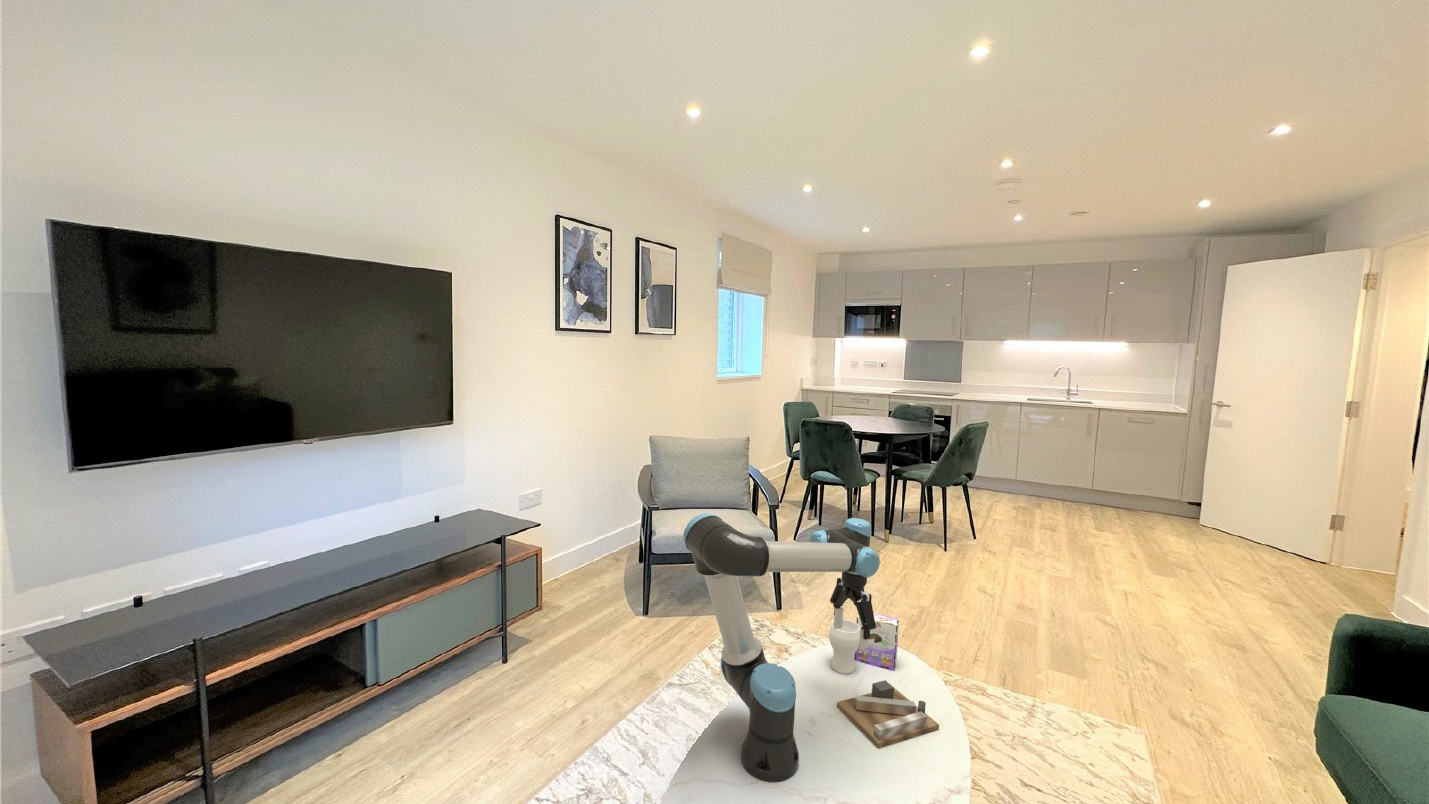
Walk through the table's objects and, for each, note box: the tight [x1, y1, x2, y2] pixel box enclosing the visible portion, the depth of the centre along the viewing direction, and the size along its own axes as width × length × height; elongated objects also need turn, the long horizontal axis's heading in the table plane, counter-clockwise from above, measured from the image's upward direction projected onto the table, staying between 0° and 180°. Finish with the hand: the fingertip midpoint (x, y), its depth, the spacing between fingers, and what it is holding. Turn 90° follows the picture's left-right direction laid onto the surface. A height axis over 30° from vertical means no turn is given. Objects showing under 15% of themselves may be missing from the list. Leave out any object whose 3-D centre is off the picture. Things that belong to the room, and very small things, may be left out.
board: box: [836, 687, 940, 750], centre depth 164 cm, size 22×19×6 cm
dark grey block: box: [871, 680, 895, 699], centre depth 170 cm, size 5×4×4 cm
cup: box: [828, 618, 860, 675], centre depth 189 cm, size 11×11×15 cm
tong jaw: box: [855, 695, 917, 715], centre depth 165 cm, size 17×2×3 cm, turn 84°
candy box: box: [854, 612, 900, 671], centre depth 193 cm, size 14×6×16 cm, turn 65°
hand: (850, 637), depth 170 cm, fingers open, 12 cm apart
